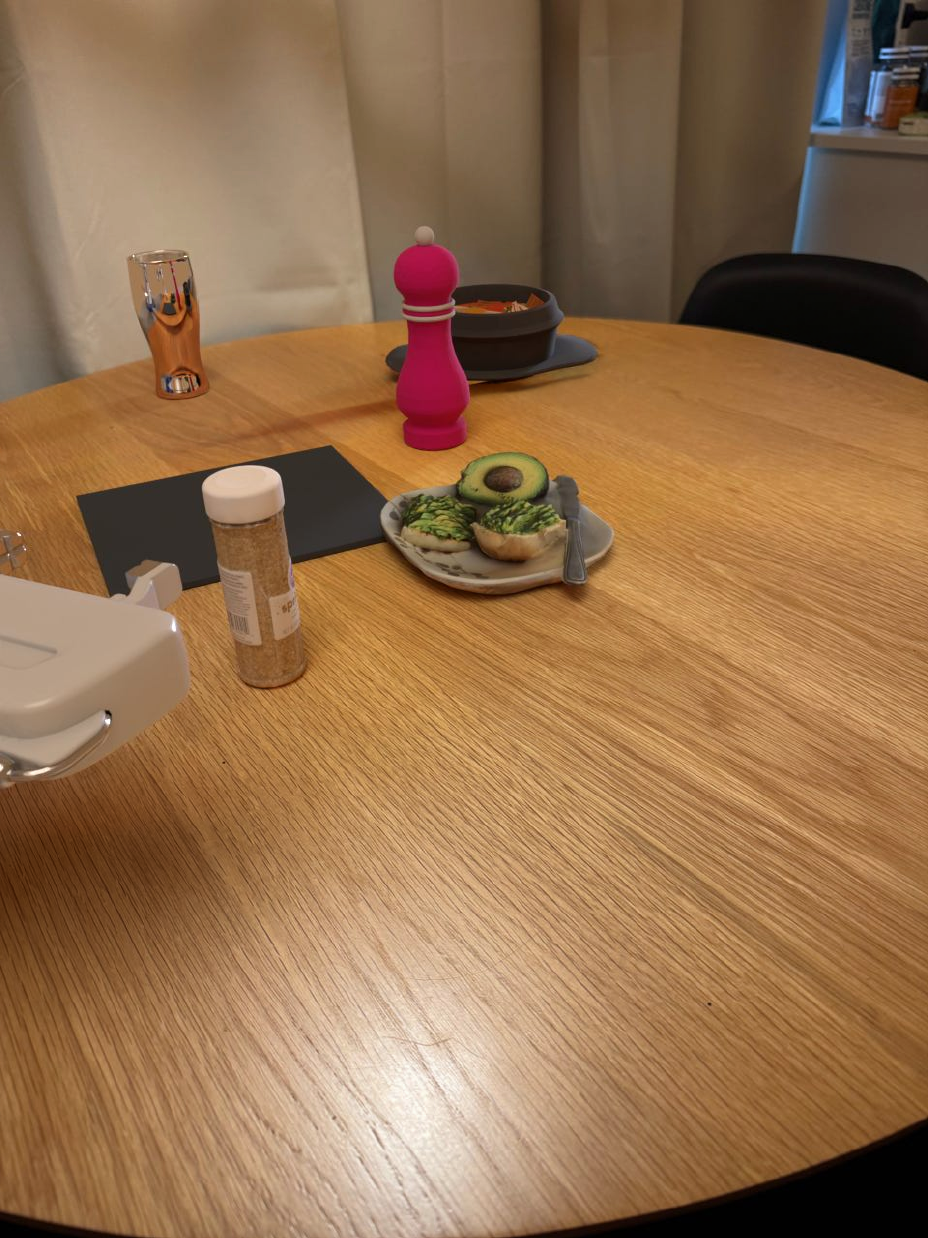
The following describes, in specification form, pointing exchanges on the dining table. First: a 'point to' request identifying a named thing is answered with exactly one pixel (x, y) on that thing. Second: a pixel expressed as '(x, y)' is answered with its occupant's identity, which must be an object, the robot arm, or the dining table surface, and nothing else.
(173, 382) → the beer glass
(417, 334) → the pepper mill
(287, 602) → the spice jar
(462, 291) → the casserole
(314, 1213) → the dining table surface
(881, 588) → the dining table surface
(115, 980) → the dining table surface
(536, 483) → the avocado toast plate
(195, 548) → the slate mat
